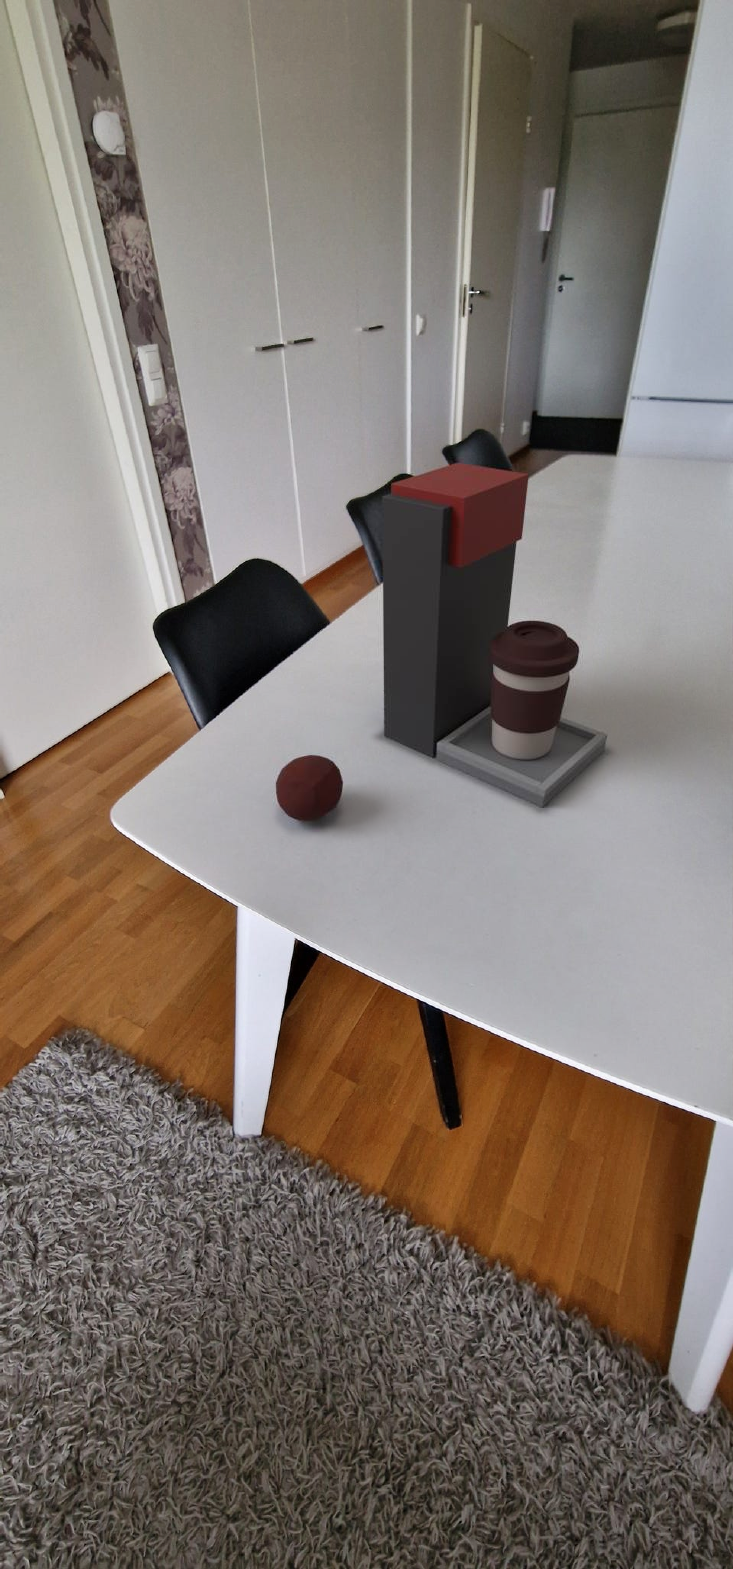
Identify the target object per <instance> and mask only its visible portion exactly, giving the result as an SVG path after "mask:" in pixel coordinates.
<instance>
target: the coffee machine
mask: <svg viewBox="0 0 733 1569" xmlns="http://www.w3.org/2000/svg"><path fill="white" fill-rule="evenodd" d="M529 475H530V474H529V473H525V472H518V471H513V470H505V469H498V468H492V467H488V466H480V465H475V464H469V463H468V464H467V463H462V462H455V463H453V464H449V465H446V466H442V467H439V468H435V469H433V470H430V471H427V472H423V473H420V474H416V475H415V476H414V475H413V476H411V477H408V478H404V479H402V480H398V481H395V482H392V483H391V484H390V485H391V488H390V489H391V490H390V491H391V492H390V493H389V494H386V495H383V496H381V499H382V500H381V503H382V504H381V505H382V509H381V510H382V511H381V512H382V516H381V517H382V521H381V522H382V625H383V626H382V629H383V630H382V632H383V633H382V634H383V636H382V638H383V643H382V644H383V735H384V737H385V738H388V739H389V740H392V741H394V742H396V743H399V744H401V745H403V746H404V747H405V746H406V747H408V748H410V749H411V750H414V751H416V752H418V753H421V754H423V755H425V756H427V757H430V758H431V759H435V758H436V761H439V762H440V763H444V764H445V765H447V766H449V767H452V768H454V769H456V770H459V771H461V772H463V773H465V774H467V775H469V776H472V777H474V778H476V779H478V780H481V781H483V782H485V783H487V784H489V785H492V786H494V787H496V788H498V789H500V790H503V791H505V792H507V793H510V794H512V795H514V796H516V797H518V798H520V799H523V800H525V801H527V802H529V803H532V804H533V805H536V806H538V807H541V808H544V807H545V806H546V805H547V804H548V803H550V801H552V800H553V799H554V798H555V797H556V796H557V795H558V794H559V793H560V792H561V791H562V790H563V789H564V788H565V787H566V786H568V785H569V784H570V783H571V782H572V781H573V780H574V779H575V778H576V777H577V776H579V775H580V773H582V772H583V771H584V770H585V769H586V768H587V767H588V766H589V765H590V764H591V763H593V761H595V760H596V759H597V758H598V757H599V756H600V755H601V754H603V752H605V748H606V742H607V739H608V733H605V732H602V731H600V730H597V729H594V728H591V727H589V726H585V725H583V724H581V723H578V722H575V721H572V720H569V719H567V718H565V717H562V716H561V717H560V721H559V723H558V724H557V726H556V730H555V734H554V738H553V742H552V746H551V749H550V750H549V752H548V753H546V754H545V755H544V756H542V757H539V758H536V759H531V760H521V759H514V758H510V757H507V756H505V755H503V754H501V753H500V752H498V751H497V750H496V749H495V747H494V746H493V743H492V717H491V672H492V668H493V663H492V662H491V661H490V659H489V643H490V641H491V639H492V638H493V637H494V636H495V635H497V634H499V633H500V632H503V631H505V629H506V628H507V627H508V626H509V620H510V609H511V600H512V599H511V598H512V590H513V579H514V572H515V571H514V570H515V563H516V562H515V561H516V553H517V552H516V551H517V543H518V542H519V541H520V540H522V539H523V533H524V532H523V531H524V524H525V523H524V522H525V514H526V512H525V511H526V504H527V494H528V486H529V478H530V477H529Z"/></svg>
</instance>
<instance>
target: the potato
mask: <svg viewBox="0 0 733 1569" xmlns="http://www.w3.org/2000/svg"><path fill="white" fill-rule="evenodd" d="M343 786H344V780H343V777H342V773H341V770H340V769H339V767H338V766H337V765H336V764H335V762H334V761H333V760H332V759H330V758H328V757H325V756H321V755H317V754H308V755H304V756H299V757H296V758H294V759H292V760H291V761H289V762H288V763H286V764H285V766H283V767H282V768H281V769H280V772H279V773H278V775H277V778H276V781H275V793H276V801H277V803H278V805H279V807H280V809H281V810H282V811H283V812H284V814H285V815H287V817H289V818H291V819H294V820H296V821H300V822H313V821H315V820H319V819H321V818H323V817H325V816H327V815H328V814H329V813H331V812H332V811H333V810H334V809H336V807H337V805H338V804H339V802H340V800H341V797H342V794H343V788H344V787H343Z"/></svg>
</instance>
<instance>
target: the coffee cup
mask: <svg viewBox="0 0 733 1569" xmlns="http://www.w3.org/2000/svg"><path fill="white" fill-rule="evenodd" d="M579 655H580V646H579V644H578V643H577V642H576V641H575V640H574V639H573V638H571V637H570V636H568V634H567V632H566V630H565V629H564V628H562V627H561V626H559V625H557V624H555V623H551V622H548V621H543V620H522V621H521V620H520V621H517V622H513V623H512V624H511V623H510V624H508V627H507V628H506V629H505V631H503V632H500V633H499V634H497V635H495V636H494V637H493V638H492V639H491V641H490V643H489V659H490V661H491V662H492V663H493V668H492V672H491V717H492V743H493V746H494V747H495V749H496V750H497V751H498V752H500V753H501V754H503V755H505V756H507V757H510V758H514V759H521V760H531V759H536V758H539V757H542V756H544V755H545V754H546V753H548V752H549V750H550V749H551V746H552V742H553V738H554V734H555V730H556V726H557V724H558V723H559V721H560V717H562V713H563V709H564V704H565V700H566V697H567V693H568V689H569V685H570V680H571V676H570V672H571V671H572V670H573V669H574V668H575V667H576V666H577V664H578V661H579Z"/></svg>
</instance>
